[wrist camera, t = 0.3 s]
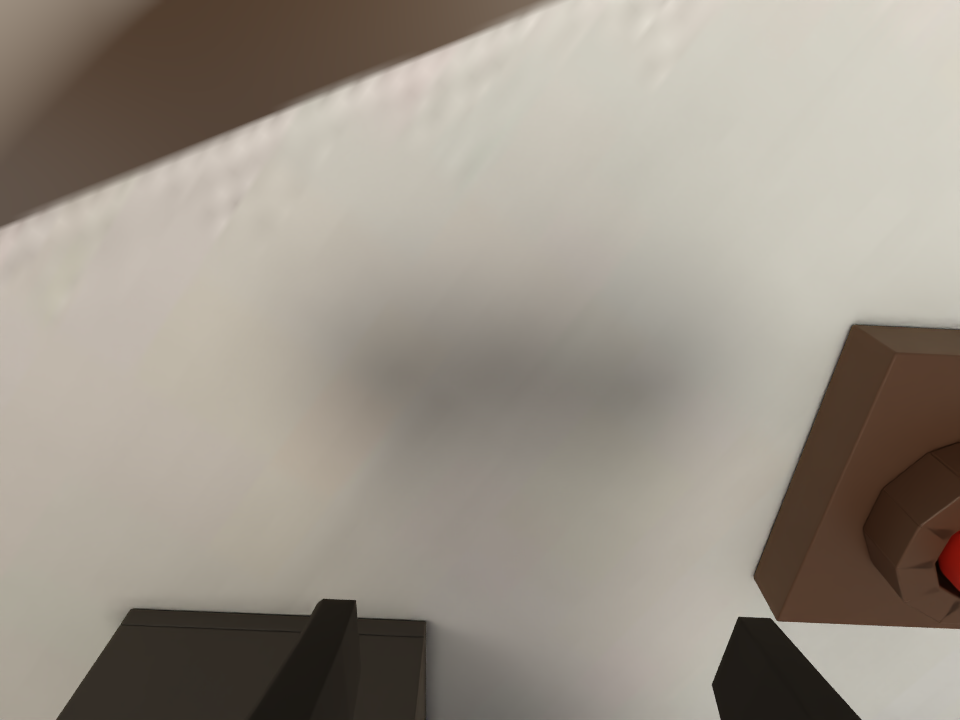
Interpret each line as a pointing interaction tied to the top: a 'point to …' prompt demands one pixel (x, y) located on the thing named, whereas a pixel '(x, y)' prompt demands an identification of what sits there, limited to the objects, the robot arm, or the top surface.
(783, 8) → the top surface
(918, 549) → the panel
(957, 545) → the button
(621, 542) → the top surface
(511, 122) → the top surface
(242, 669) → the dark gray box
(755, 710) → the robot arm
